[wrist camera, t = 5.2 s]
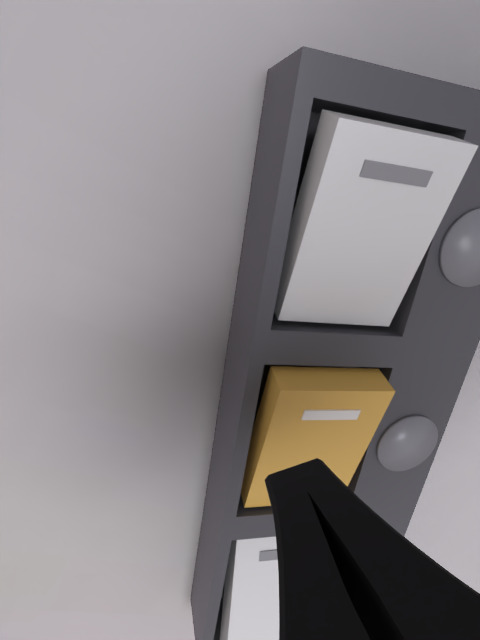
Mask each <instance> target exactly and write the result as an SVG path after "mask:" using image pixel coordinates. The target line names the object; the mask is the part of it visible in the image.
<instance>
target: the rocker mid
mask: <svg viewBox="0 0 480 640" xmlns="http://www.w3.org/2000/svg"><path fill="white" fill-rule="evenodd" d="M395 392H396V391H395V390H394V389H393V387H392V386H391V385H390V383H389V382H388V381H387V379H386V378H385V377H384V375H383V374H382V373H381V371H380V370H379V369H371V368H331V367H290V366H271V367H270V370H269V374H268V377H267V381H266V384H265V388H264V391H263V395H262V399H261V402H260V406H259V409H258V413H257V416H256V420H255V423H254V427H253V430H252V434H251V439H250V444H249V450H248V455H247V461H246V466H245V471H244V477H243V482H242V488H241V496H242V500H243V505H244V508H248V507H262V506H271V503H270V500H269V496H268V492H267V488H266V484H265V479H266V477H267V476H268V475H269V474H272V473H275V472H278V471H281V470H284V469H287V468H290V467H293V466H296V465H299V464H301V463H304V462H307V461H310V460H313V459H316V458H318V459H320V460H322V461H323V462H324V463H325V464H326V465H327V466H328V467H329V468H330V469H331V471H332V472H333V473H334V474H335V475H336V476H337V477H338V478H339V479H340V480H341V481H342V482H343V483H344V484H345V485H346V486H347V487H348V485H349V483H350V481H351V479H352V477H353V475H354V473H355V471H356V469H357V467H358V465H359V463H360V461H361V459H362V457H363V455H364V453H365V451H366V449H367V447H368V445H369V443H370V441H371V439H372V437H373V435H374V433H375V431H376V429H377V427H378V425H379V423H380V421H381V419H382V417H383V415H384V413H385V411H386V409H387V407H388V406H389V404H390V402H391V400H392V398H393V396H394V394H395Z"/></svg>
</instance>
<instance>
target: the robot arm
mask: <svg viewBox="0 0 480 640" xmlns="http://www.w3.org/2000/svg"><path fill="white" fill-rule="evenodd" d="M265 484H266V488H267V492H268V496H269V500H270V503H271V507H272V511H273V517H274V524H275V532H276V544H277V557H278V573H279V640H480V594H479V593H478V592H476V591H475V590H473V589H472V588H470V587H469V586H468V585H466V584H465V583H463V582H462V581H461V580H459V579H458V578H457V577H455V576H454V575H452V574H451V573H450V572H448V571H447V570H446V569H444V568H443V567H442V566H440V565H439V564H438V563H436V562H435V561H434V560H433V559H431V558H430V557H429V556H427V555H426V554H425V553H424V552H422V551H421V550H420V549H418V548H417V547H416V546H415V545H413V544H412V543H411V542H410V541H408V540H407V539H406V538H405V537H404V536H402V535H401V534H400V533H399V532H398V531H396V530H395V529H394V528H393V527H392V526H391V525H389V524H388V523H387V522H386V521H385V520H384V519H382V518H381V517H380V516H379V515H378V514H377V513H375V512H374V511H373V510H372V509H371V508H370V507H369V506H368V505H366V504H365V503H364V502H363V501H362V500H361V499H360V498H359V497H358V496H357V495H356V494H355V493H354V492H353V491H351V490H350V489H349V488H348V487H347V486H346V485H345V484H344V483H343V482H342V481H341V480H340V479H339V478H338V477H337V476H336V475H335V474H334V473H333V472H332V471H331V469H330V468H329V467H328V466H327V465H326V464H325V463H324V462H323V461H322V460H320V459H318V458H316V459H313V460H310V461H307V462H304V463H301V464H299V465H296V466H293V467H290V468H287V469H284V470H281V471H278V472H275V473H272V474H269V475H268V476H267V477H266V479H265Z"/></svg>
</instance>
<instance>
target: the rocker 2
mask: <svg viewBox="0 0 480 640" xmlns="http://www.w3.org/2000/svg"><path fill="white" fill-rule="evenodd" d="M477 148H478V145H475V144H472V143H470V142H467V141H464V140H461V139H459V138H456V137H453V136H450V135H445V134H440V133H435V132H430V131H425V130H421V129H416V128H411V127H406V126H401V125H397V124H392V123H387V122H382V121H377V120H372V119H368V118H363V117H358V116H353V115H348V114H343V113H339V112H334V111H329V110H324V109H322V112H321V115H320V119H319V123H318V126H317V130H316V133H315V137H314V141H313V144H312V148H311V151H310V155H309V159H308V162H307V166H306V169H305V173H304V177H303V180H302V184H301V187H300V191H299V195H298V198H297V202H296V205H295V209H294V213H293V216H292V220H291V223H290V228H289V233H288V239H287V244H286V249H285V255H284V260H283V266H282V271H281V276H280V282H279V287H278V293H277V298H276V304H275V309H274V312H275V314H276V317H277V319H278V320H282V321H300V322H317V323H335V324H353V325H371V326H389V325H390V323H391V321H392V319H393V317H394V315H395V313H396V311H397V309H398V307H399V305H400V303H401V301H402V299H403V297H404V295H405V293H406V291H407V289H408V287H409V285H410V283H411V281H412V279H413V277H414V275H415V273H416V271H417V269H418V267H419V265H420V263H421V261H422V259H423V257H424V255H425V253H426V251H427V249H428V247H429V245H430V243H431V241H432V239H433V237H434V235H435V233H436V231H437V229H438V227H439V225H440V223H441V221H442V219H443V217H444V215H445V212H446V210H447V208H448V206H449V204H450V202H451V200H452V198H453V196H454V194H455V192H456V190H457V188H458V186H459V184H460V182H461V180H462V178H463V176H464V174H465V172H466V170H467V168H468V166H469V164H470V162H471V160H472V158H473V156H474V154H475V152H476V150H477Z"/></svg>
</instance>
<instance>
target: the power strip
mask: <svg viewBox="0 0 480 640" xmlns="http://www.w3.org/2000/svg"><path fill="white" fill-rule="evenodd" d="M322 109H324V110H329V111H334V112H339V113H343V114H348V115H353V116H358V117H363V118H368V119H372V120H377V121H382V122H387V123H392V124H397V125H401V126H406V127H411V128H416V129H421V130H425V131H430V132H435V133H440V134H445V135H450V136H453V137H456V138H459V139H461V140H464V141H467V142H470V143H472V144H475V145H478V148H477V150H476V152H475V154H474V156H473V158H472V160H471V162H470V164H469V166H468V168H467V170H466V172H465V174H464V176H463V178H462V180H461V182H460V184H459V186H458V188H457V190H456V192H455V194H454V196H453V198H452V200H451V202H450V204H449V206H448V208H447V210H446V212H445V215H444V217H443V219H442V221H441V223H440V225H439V227H438V229H437V231H436V233H435V235H434V237H433V239H432V241H431V243H430V245H429V247H428V249H427V251H426V253H425V255H424V257H423V259H422V261H421V263H420V265H419V267H418V269H417V271H416V273H415V275H414V277H413V279H412V281H411V283H410V285H409V287H408V289H407V291H406V293H405V295H404V297H403V299H402V301H401V303H400V305H399V307H398V309H397V311H396V313H395V315H394V317H393V319H392V321H391V323H390V325H389V326H371V325H353V324H335V323H317V322H300V321H282V320H278V319H277V317H276V314H275V312H274V309H275V304H276V298H277V293H278V287H279V282H280V276H281V271H282V266H283V260H284V255H285V249H286V244H287V239H288V233H289V228H290V223H291V220H292V216H293V213H294V209H295V205H296V202H297V198H298V195H299V191H300V187H301V184H302V180H303V177H304V173H305V169H306V166H307V162H308V159H309V155H310V151H311V148H312V144H313V141H314V137H315V133H316V130H317V126H318V123H319V119H320V115H321V112H322ZM479 340H480V90H477V89H473V88H469V87H465V86H461V85H457V84H453V83H449V82H445V81H441V80H437V79H433V78H429V77H425V76H421V75H417V74H413V73H409V72H405V71H401V70H397V69H393V68H389V67H385V66H380V65H376V64H372V63H368V62H364V61H360V60H356V59H352V58H348V57H344V56H340V55H336V54H332V53H328V52H324V51H320V50H316V49H312V48H308V47H304V46H303V47H301V48H300V49H298V50H297V51H295V52H294V53H292V54H291V55H289V56H288V57H286V58H285V59H283V60H282V61H281V62H279V63H278V64H276V65H275V66H273V67H272V68H270V69H269V70H268V74H267V81H266V88H265V94H264V101H263V108H262V115H261V122H260V129H259V135H258V142H257V149H256V156H255V163H254V170H253V176H252V183H251V190H250V197H249V204H248V210H247V217H246V224H245V231H244V238H243V245H242V251H241V258H240V265H239V272H238V279H237V286H236V292H235V299H234V306H233V313H232V320H231V327H230V333H229V340H228V347H227V354H226V361H225V367H224V374H223V381H222V388H221V395H220V402H219V408H218V415H217V422H216V429H215V436H214V443H213V449H212V456H211V463H210V470H209V477H208V484H207V490H206V497H205V504H204V511H203V518H202V525H201V531H200V538H199V545H198V552H197V559H196V565H195V572H194V579H193V586H192V593H191V606H192V615H193V624H194V633H195V640H220V630H221V619H222V608H223V596H224V585H225V574H226V569H227V564H228V558H229V553H230V547H231V542H232V540H243V539H253V538H264V537H275V536H276V532H275V524H274V517H273V511H272V507H271V506H262V507H248V508H244V505H243V500H242V496H241V488H242V482H243V477H244V471H245V466H246V461H247V455H248V450H249V444H250V439H251V434H252V430H253V427H254V423H255V420H256V416H257V413H258V409H259V406H260V402H261V399H262V395H263V391H264V388H265V384H266V381H267V377H268V374H269V370H270V367H271V366H290V367H331V368H371V369H379V370H380V371H381V373H382V374H383V375H384V377H385V378H386V379H387V381H388V382H389V383H390V385H391V386H392V387H393V389H394V390H395V391H396V392H395V394H394V396H393V398H392V400H391V402H390V404H389V406H388V407H387V409H386V411H385V413H384V415H383V417H382V419H381V421H380V423H379V425H378V427H377V429H376V431H375V433H374V435H373V437H372V439H371V441H370V443H369V445H368V447H367V449H366V451H365V453H364V455H363V457H362V459H361V461H360V463H359V465H358V467H357V469H356V471H355V473H354V475H353V477H352V479H351V481H350V483H349V485H348V488H349V489H350V490H351V491H353V492H354V493H355V494H356V495H357V496H358V497H359V498H360V499H361V500H362V501H363V502H364V503H365V504H366V505H368V506H369V507H370V508H371V509H372V510H373V511H374V512H375V513H377V514H378V515H379V516H380V517H381V518H382V519H384V520H385V521H386V522H387V523H388V524H389V525H391V526H392V527H393V528H394V529H395V530H396V531H398V532H399V533H400V534H401V535H402V536H404V535H405V533H406V530H407V527H408V525H409V522H410V520H411V517H412V514H413V512H414V509H415V507H416V504H417V501H418V499H419V496H420V494H421V491H422V488H423V486H424V483H425V480H426V478H427V475H428V473H429V470H430V467H431V465H432V462H433V460H434V457H435V454H436V452H437V449H438V447H439V444H440V441H441V439H442V436H443V434H444V431H445V428H446V426H447V423H448V421H449V418H450V415H451V413H452V410H453V408H454V405H455V402H456V400H457V397H458V395H459V392H460V389H461V387H462V384H463V382H464V379H465V376H466V374H467V371H468V368H469V366H470V363H471V361H472V358H473V355H474V353H475V350H476V348H477V345H478V342H479Z"/></svg>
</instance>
